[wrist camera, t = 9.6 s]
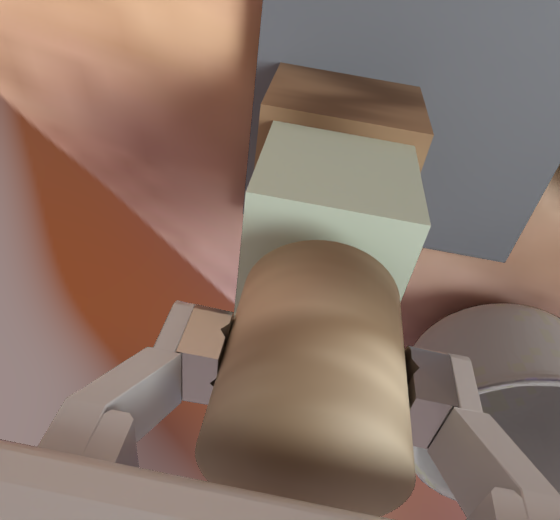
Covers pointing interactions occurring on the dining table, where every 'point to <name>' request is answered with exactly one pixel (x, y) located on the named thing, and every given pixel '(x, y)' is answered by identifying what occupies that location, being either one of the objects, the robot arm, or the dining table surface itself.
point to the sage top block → (335, 198)
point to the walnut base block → (346, 107)
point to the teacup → (506, 379)
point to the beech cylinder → (314, 384)
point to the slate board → (445, 97)
